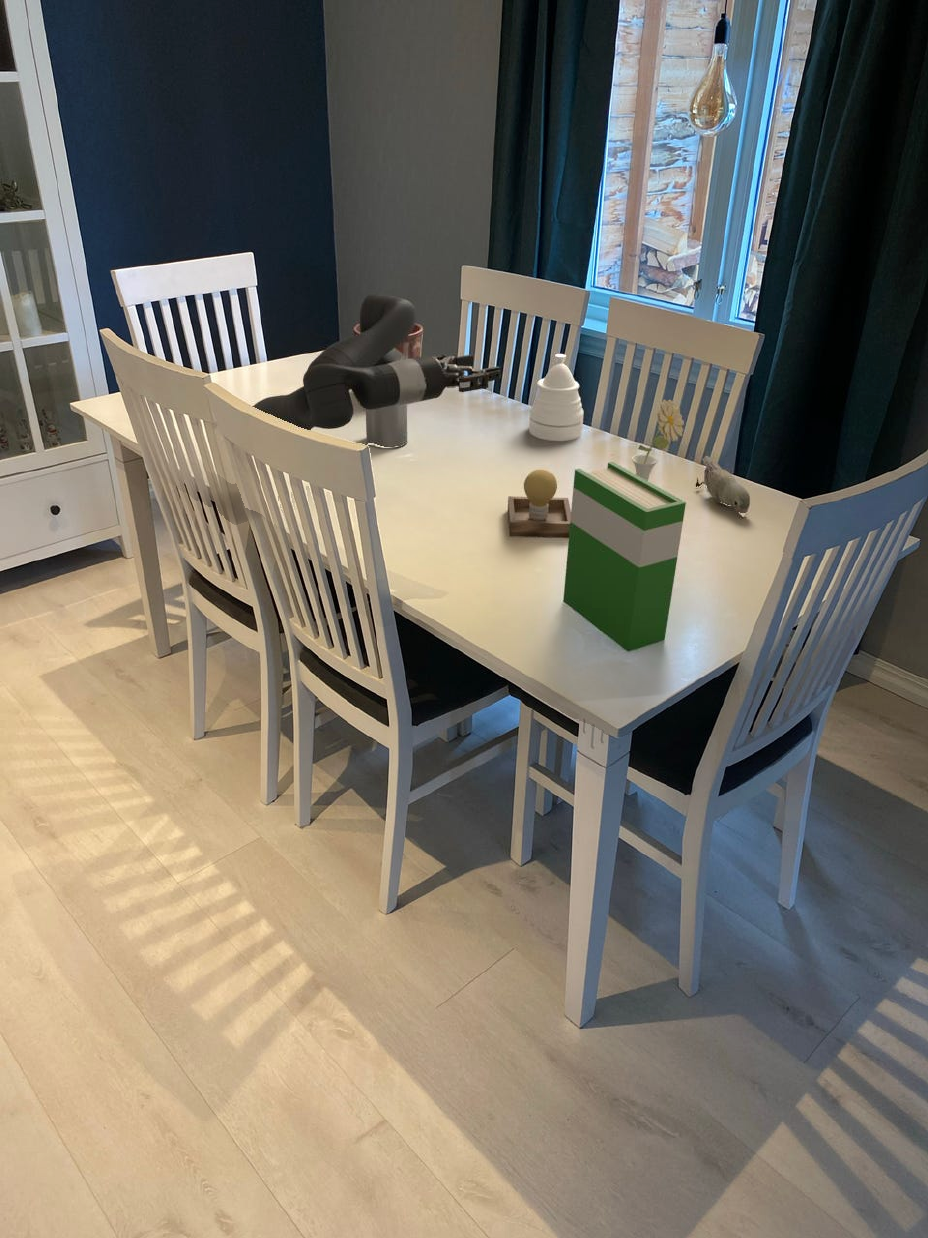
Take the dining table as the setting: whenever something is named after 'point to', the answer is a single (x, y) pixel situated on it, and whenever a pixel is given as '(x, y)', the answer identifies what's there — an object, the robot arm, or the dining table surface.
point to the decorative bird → (724, 486)
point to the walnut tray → (550, 527)
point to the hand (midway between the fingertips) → (486, 366)
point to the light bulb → (539, 493)
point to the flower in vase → (660, 437)
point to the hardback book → (622, 554)
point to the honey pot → (557, 405)
